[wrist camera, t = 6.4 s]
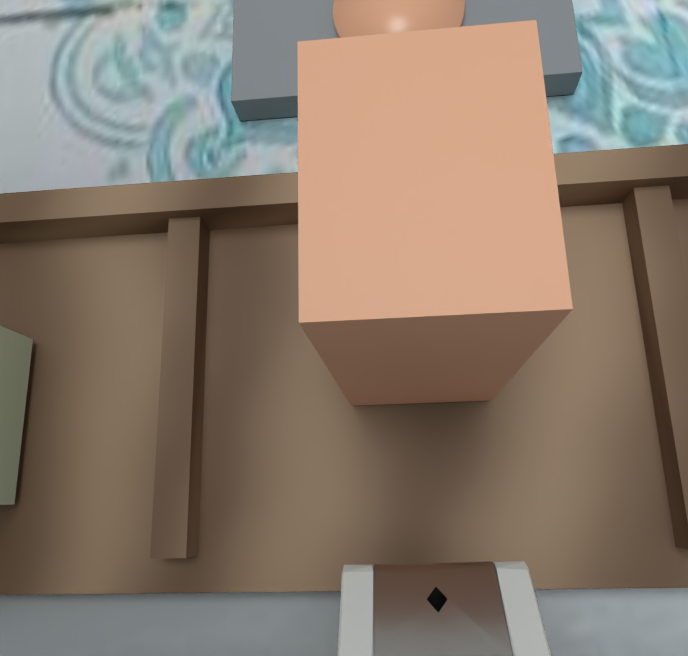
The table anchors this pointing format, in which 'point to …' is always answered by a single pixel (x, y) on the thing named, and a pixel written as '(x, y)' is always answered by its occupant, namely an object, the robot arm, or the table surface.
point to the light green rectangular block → (12, 407)
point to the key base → (332, 402)
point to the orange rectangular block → (427, 211)
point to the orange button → (370, 19)
